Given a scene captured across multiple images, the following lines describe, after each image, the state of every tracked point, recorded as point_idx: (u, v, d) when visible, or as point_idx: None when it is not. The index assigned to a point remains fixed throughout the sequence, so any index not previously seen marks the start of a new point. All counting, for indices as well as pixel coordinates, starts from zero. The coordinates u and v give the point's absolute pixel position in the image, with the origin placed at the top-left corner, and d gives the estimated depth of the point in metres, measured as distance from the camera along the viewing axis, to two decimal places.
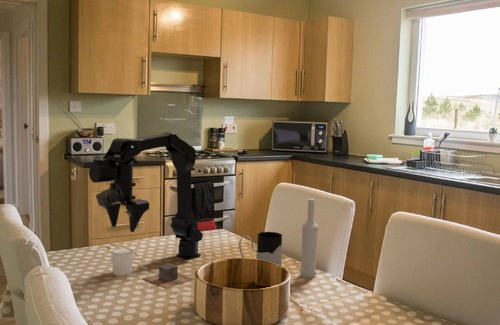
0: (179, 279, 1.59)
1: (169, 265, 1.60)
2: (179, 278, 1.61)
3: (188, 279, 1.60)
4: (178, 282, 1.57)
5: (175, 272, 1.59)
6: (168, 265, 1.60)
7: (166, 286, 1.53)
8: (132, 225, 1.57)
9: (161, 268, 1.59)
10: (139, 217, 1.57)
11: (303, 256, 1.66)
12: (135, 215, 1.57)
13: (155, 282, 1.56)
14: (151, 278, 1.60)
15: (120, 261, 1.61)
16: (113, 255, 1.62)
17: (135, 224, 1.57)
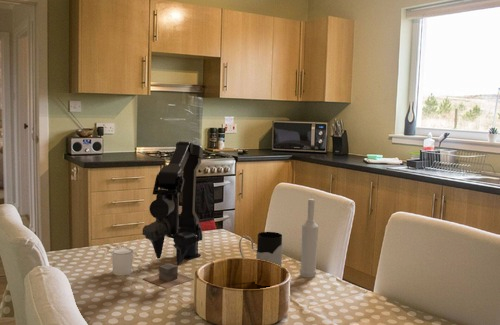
0: (179, 279, 1.59)
1: (169, 265, 1.60)
2: (179, 278, 1.61)
3: (188, 279, 1.60)
4: (178, 282, 1.57)
5: (175, 272, 1.59)
6: (168, 265, 1.60)
7: (166, 286, 1.53)
8: (179, 258, 1.56)
9: (161, 268, 1.58)
10: (186, 250, 1.56)
11: (303, 256, 1.66)
12: (182, 248, 1.55)
13: (155, 282, 1.56)
14: (151, 278, 1.60)
15: (120, 261, 1.61)
16: (113, 255, 1.62)
17: (182, 257, 1.56)
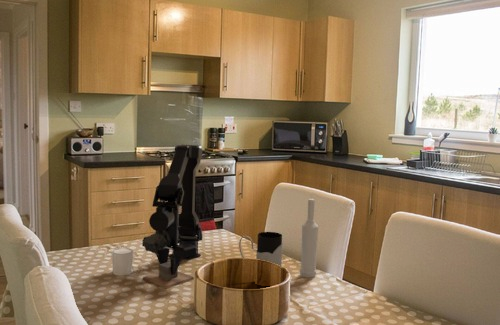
0: (179, 277, 1.59)
1: (169, 263, 1.60)
2: (179, 276, 1.60)
3: (188, 277, 1.60)
4: (178, 280, 1.57)
5: None
6: (168, 263, 1.60)
7: (166, 284, 1.53)
8: (174, 268, 1.57)
9: (161, 266, 1.58)
10: (180, 260, 1.58)
11: (303, 256, 1.66)
12: (176, 258, 1.57)
13: (155, 280, 1.56)
14: (151, 276, 1.60)
15: (120, 261, 1.61)
16: (113, 255, 1.61)
17: (176, 267, 1.58)
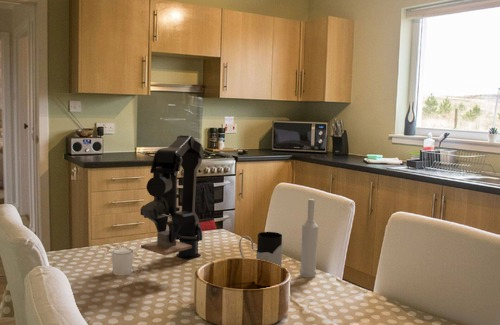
0: (177, 246, 1.58)
1: (167, 231, 1.59)
2: (177, 245, 1.60)
3: (187, 245, 1.59)
4: (177, 248, 1.56)
5: None
6: (166, 231, 1.59)
7: (164, 251, 1.52)
8: (172, 236, 1.56)
9: (159, 234, 1.57)
10: (178, 228, 1.57)
11: (303, 256, 1.66)
12: (175, 226, 1.56)
13: (153, 248, 1.55)
14: (150, 245, 1.59)
15: (120, 261, 1.61)
16: (113, 255, 1.62)
17: (175, 235, 1.57)
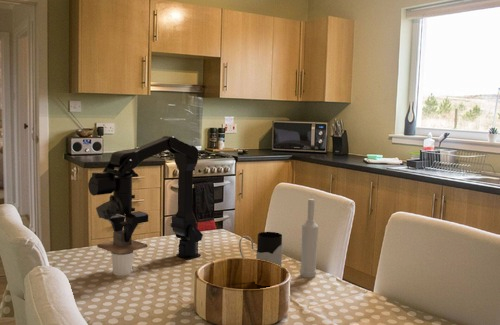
0: (133, 245, 1.63)
1: (123, 231, 1.64)
2: (133, 244, 1.64)
3: (142, 245, 1.64)
4: (131, 247, 1.61)
5: None
6: (122, 231, 1.64)
7: (118, 250, 1.57)
8: (127, 236, 1.61)
9: (115, 234, 1.62)
10: (133, 227, 1.62)
11: (303, 256, 1.66)
12: (130, 226, 1.61)
13: (108, 247, 1.60)
14: (106, 244, 1.64)
15: (120, 261, 1.61)
16: (113, 255, 1.61)
17: (130, 234, 1.62)
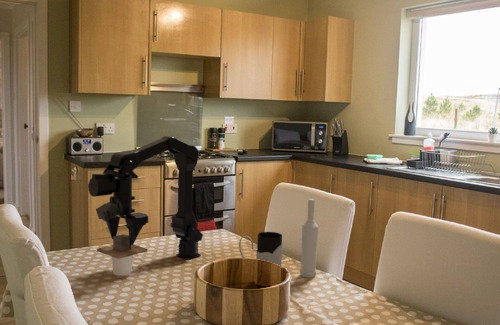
0: (132, 249, 1.63)
1: (123, 235, 1.64)
2: (133, 248, 1.64)
3: (142, 249, 1.64)
4: (131, 251, 1.61)
5: (128, 242, 1.63)
6: (122, 235, 1.64)
7: (118, 255, 1.57)
8: (132, 238, 1.60)
9: (115, 238, 1.62)
10: (138, 230, 1.60)
11: (303, 256, 1.66)
12: (134, 228, 1.60)
13: (108, 251, 1.60)
14: (106, 248, 1.64)
15: (120, 261, 1.61)
16: None
17: (135, 237, 1.60)
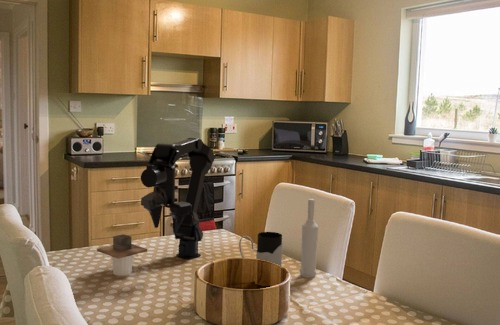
0: (132, 249, 1.63)
1: (123, 235, 1.64)
2: (133, 248, 1.64)
3: (142, 249, 1.64)
4: (131, 251, 1.61)
5: (128, 242, 1.63)
6: (122, 235, 1.64)
7: (118, 255, 1.57)
8: (176, 227, 1.64)
9: (115, 238, 1.62)
10: (182, 219, 1.65)
11: (303, 256, 1.66)
12: (178, 217, 1.64)
13: (108, 251, 1.60)
14: (106, 248, 1.64)
15: (120, 261, 1.61)
16: None
17: (178, 225, 1.65)
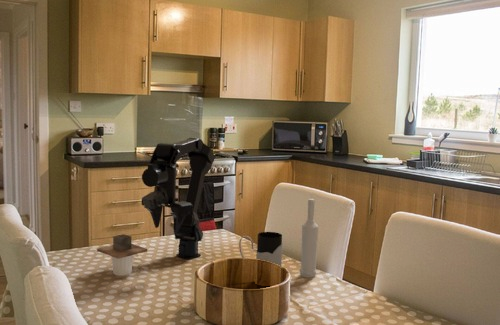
0: (132, 249, 1.63)
1: (123, 235, 1.64)
2: (133, 248, 1.64)
3: (142, 249, 1.64)
4: (131, 251, 1.61)
5: (128, 242, 1.63)
6: (122, 235, 1.64)
7: (118, 255, 1.57)
8: (176, 226, 1.64)
9: (115, 238, 1.62)
10: (182, 218, 1.65)
11: (303, 256, 1.66)
12: (179, 216, 1.64)
13: (108, 251, 1.60)
14: (106, 248, 1.64)
15: (120, 261, 1.61)
16: None
17: (179, 225, 1.65)
